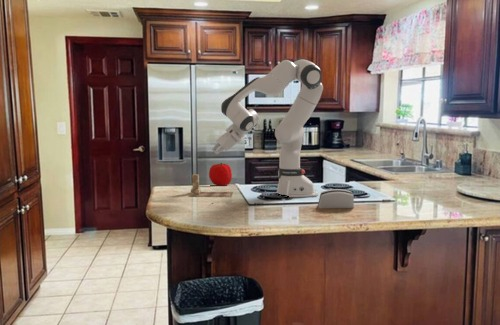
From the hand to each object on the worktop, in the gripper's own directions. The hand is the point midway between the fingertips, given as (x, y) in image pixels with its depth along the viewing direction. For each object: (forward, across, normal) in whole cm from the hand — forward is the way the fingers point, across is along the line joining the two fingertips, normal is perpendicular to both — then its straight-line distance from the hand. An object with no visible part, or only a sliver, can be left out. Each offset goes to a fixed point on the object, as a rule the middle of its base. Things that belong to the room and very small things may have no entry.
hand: (214, 151), depth 223 cm
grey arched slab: (-24, +41, +50) cm, 69 cm away
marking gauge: (+22, -1, +10) cm, 24 cm away
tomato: (+11, -28, +24) cm, 39 cm away
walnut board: (+17, +3, +16) cm, 24 cm away
